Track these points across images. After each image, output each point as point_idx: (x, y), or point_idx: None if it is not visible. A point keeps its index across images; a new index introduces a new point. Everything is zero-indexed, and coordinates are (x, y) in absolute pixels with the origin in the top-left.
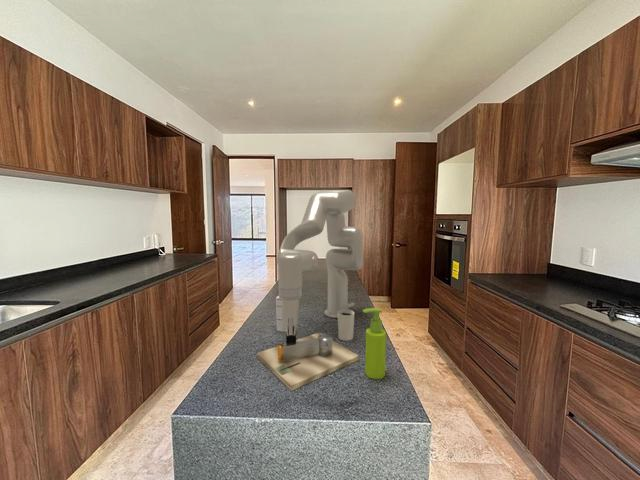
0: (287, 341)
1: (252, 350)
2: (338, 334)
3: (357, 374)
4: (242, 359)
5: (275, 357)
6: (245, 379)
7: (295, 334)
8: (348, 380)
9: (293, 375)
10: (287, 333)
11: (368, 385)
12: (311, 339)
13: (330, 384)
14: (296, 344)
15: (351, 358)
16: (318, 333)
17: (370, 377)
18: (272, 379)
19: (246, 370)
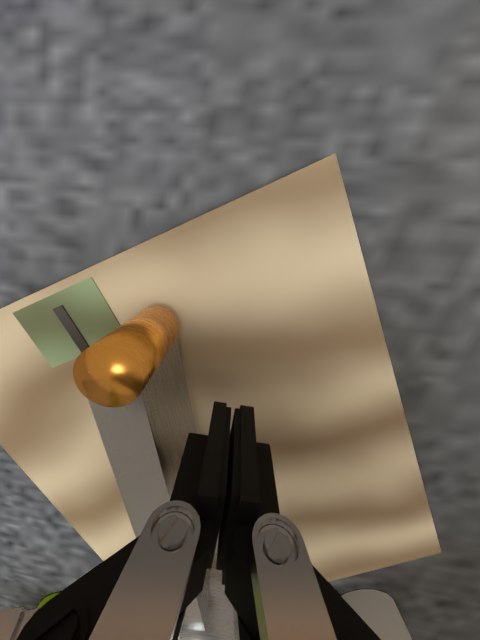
0: (205, 445)
1: (441, 128)
2: (379, 609)
3: (70, 572)
4: (330, 32)
5: (227, 293)
6: (52, 66)
7: (222, 571)
8: (33, 540)
9: (13, 371)
10: (127, 568)
11: (4, 579)
12: (194, 600)
13: (7, 486)
14: (124, 504)
15: None
16: (431, 549)
17: (45, 598)
18: (47, 254)
19: (164, 73)
